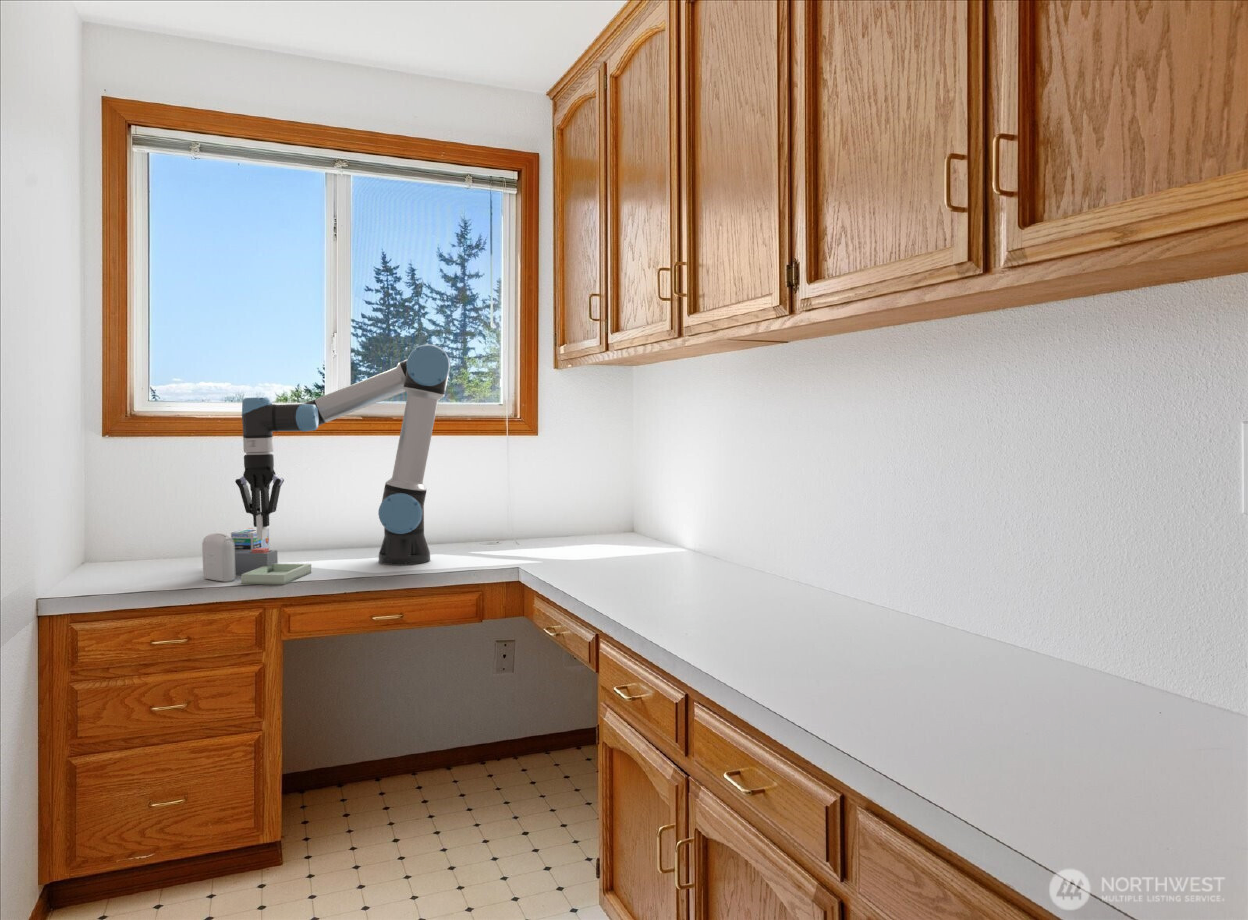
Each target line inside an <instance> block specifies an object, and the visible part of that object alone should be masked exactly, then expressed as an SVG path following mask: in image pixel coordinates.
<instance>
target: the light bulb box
mask: <svg viewBox="0 0 1248 920" xmlns="http://www.w3.org/2000/svg"><path fill="white" fill-rule="evenodd" d="M230 538H232V539H233V541H234V543H235V550H252V549H255V548H269V549H270V528H268V527H267V538H265V539H257V527H247V528H242V529H239V530H235V531H233V532H230Z"/></svg>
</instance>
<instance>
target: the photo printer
mask: <svg viewBox="0 0 1248 920" xmlns="http://www.w3.org/2000/svg"><path fill="white" fill-rule="evenodd" d="M201 546H202V547H201V548H202V573H203V574H202V576H203V578H204V579H207V580H212V581H217V582H224V583H226V582H232V581H235V580H236V579H237V578H236V577H237V575H236V571H235V543H234V541H233V539H232V538H231V536H229V535H227V534H224V533H221V532H219V533H218V532H217V533H210V534H208V535H206V536H205V537H203V539H202V545H201Z"/></svg>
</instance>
